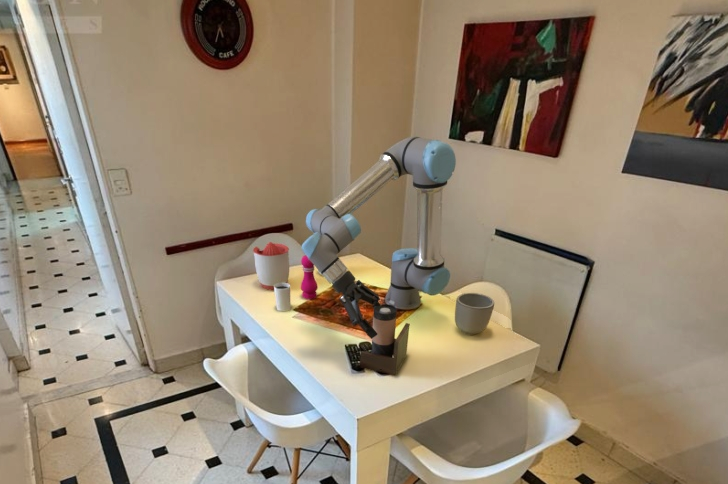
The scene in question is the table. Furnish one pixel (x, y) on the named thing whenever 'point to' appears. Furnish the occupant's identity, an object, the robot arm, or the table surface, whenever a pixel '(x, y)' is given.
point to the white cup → (282, 296)
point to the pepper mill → (308, 279)
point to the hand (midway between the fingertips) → (381, 327)
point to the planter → (473, 312)
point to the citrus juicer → (272, 265)
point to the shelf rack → (385, 362)
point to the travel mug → (384, 329)
